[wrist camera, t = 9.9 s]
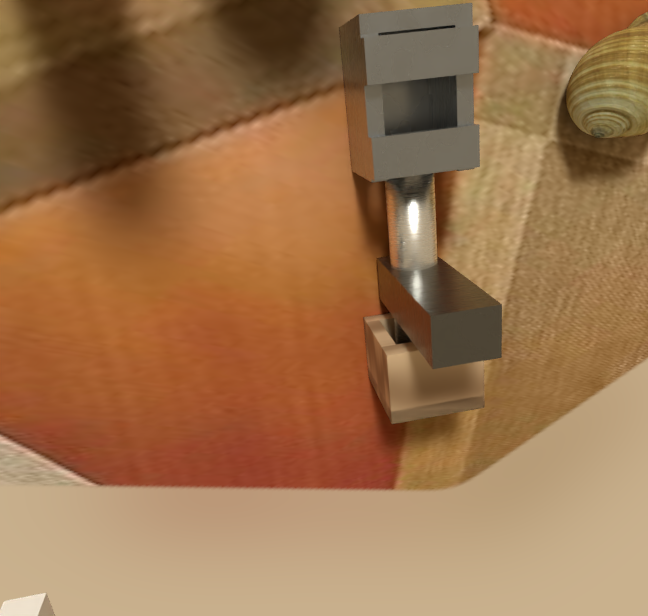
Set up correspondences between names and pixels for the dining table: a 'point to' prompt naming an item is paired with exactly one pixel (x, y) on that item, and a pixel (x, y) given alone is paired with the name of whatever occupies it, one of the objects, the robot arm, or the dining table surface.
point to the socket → (417, 377)
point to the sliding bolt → (432, 284)
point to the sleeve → (411, 91)
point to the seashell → (612, 85)
